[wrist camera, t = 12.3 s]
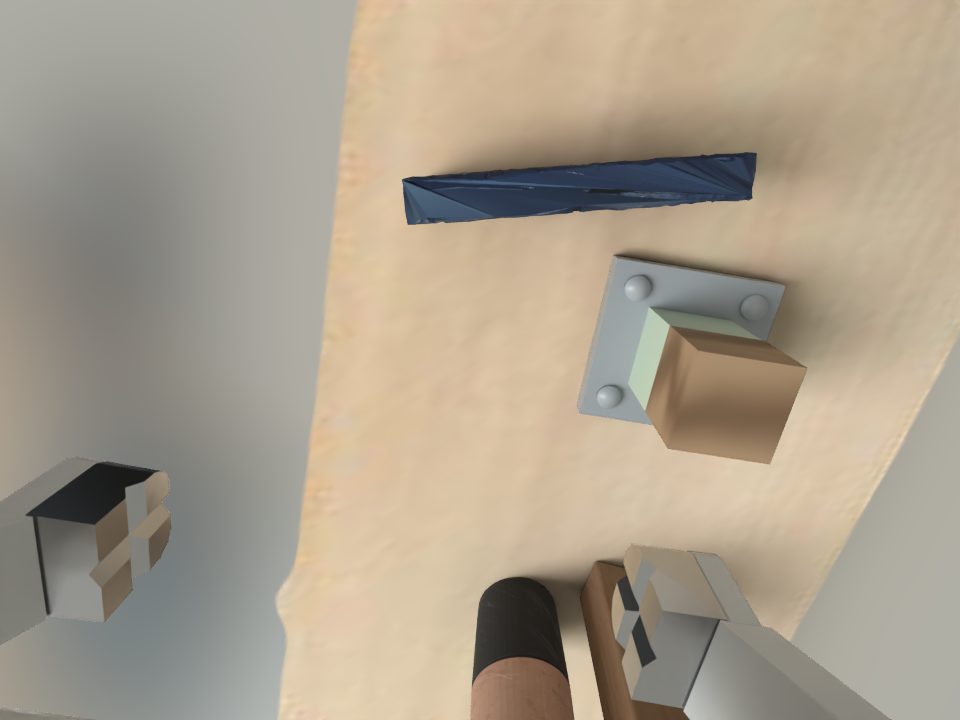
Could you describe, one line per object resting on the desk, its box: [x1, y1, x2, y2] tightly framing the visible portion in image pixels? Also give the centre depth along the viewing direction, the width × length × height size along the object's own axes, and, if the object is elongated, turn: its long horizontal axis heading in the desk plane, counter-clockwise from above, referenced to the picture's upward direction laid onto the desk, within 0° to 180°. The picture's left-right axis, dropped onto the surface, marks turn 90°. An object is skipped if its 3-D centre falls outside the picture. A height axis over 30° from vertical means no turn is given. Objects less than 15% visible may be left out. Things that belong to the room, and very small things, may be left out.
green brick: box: [628, 307, 761, 410], centre depth 37 cm, size 6×6×5 cm
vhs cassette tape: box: [402, 152, 757, 225], centre depth 32 cm, size 18×3×10 cm, turn 93°
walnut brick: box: [645, 326, 807, 464], centre depth 32 cm, size 6×6×5 cm
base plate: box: [577, 255, 786, 425], centre depth 40 cm, size 12×12×2 cm
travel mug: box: [471, 578, 574, 720], centre depth 40 cm, size 8×8×20 cm
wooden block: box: [580, 562, 690, 720], centre depth 40 cm, size 9×4×18 cm, turn 75°
